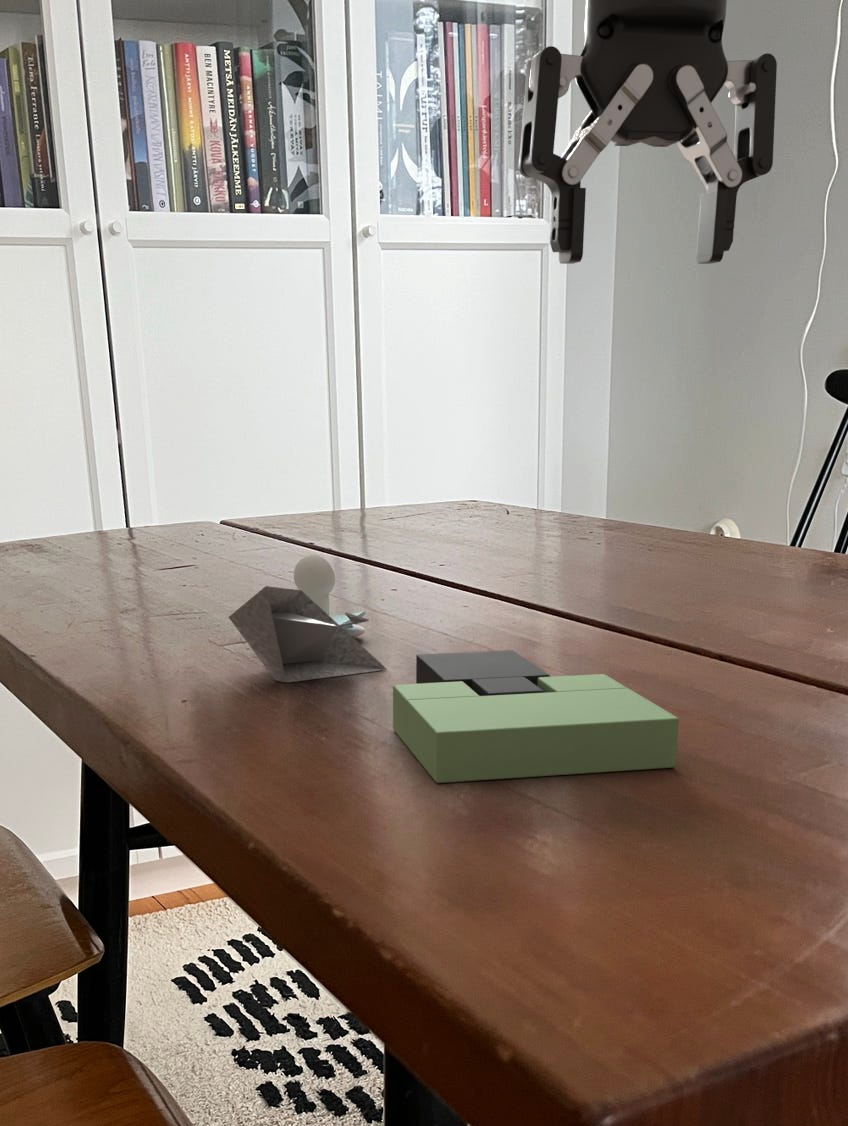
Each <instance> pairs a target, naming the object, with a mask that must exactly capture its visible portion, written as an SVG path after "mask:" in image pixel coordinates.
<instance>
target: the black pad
mask: <svg viewBox="0 0 848 1126" xmlns="http://www.w3.org/2000/svg"><path fill="white" fill-rule="evenodd" d="M415 657H416V658H415V661H416V664H415V666H416V667H415V670H416V671H415V674H416V675H415V684H421V683H440V682H459V681H462V682H464V683H465V684H466V685H467V686H468V687H470V688H471V689H472V690H473V691H474V692H475V693H477V694H478V695H479V696H493V695H511V694H530V693H544V691H543V690H542V689H540V688H539V687H537V684H538V678H539V677H551V675H550V674H549V673H548V672H546V671H545V670H544V669H542V668H540V667H539V666H537V665H535V664H534V663H532V662H531V661H530V660H528V659H527V658H525V657H524V656H522V655H521V654H519V653H517V652H516V651H515V650H514V649H505V650H486V651H485V650H484V651H464V652H463V651H462V652H442V653H439V652H438V653H421V654H416V656H415Z"/></svg>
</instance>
